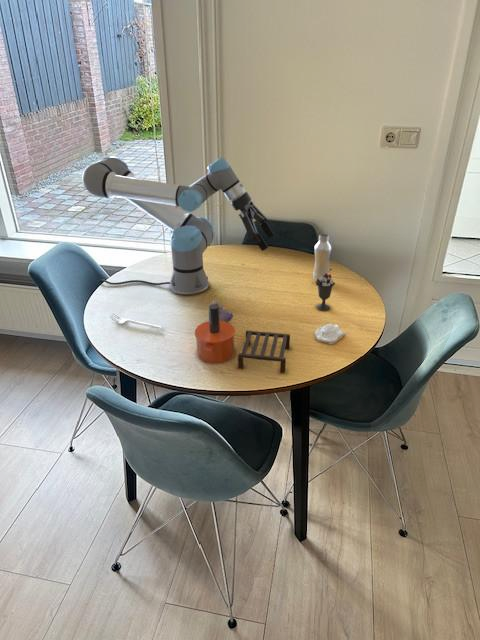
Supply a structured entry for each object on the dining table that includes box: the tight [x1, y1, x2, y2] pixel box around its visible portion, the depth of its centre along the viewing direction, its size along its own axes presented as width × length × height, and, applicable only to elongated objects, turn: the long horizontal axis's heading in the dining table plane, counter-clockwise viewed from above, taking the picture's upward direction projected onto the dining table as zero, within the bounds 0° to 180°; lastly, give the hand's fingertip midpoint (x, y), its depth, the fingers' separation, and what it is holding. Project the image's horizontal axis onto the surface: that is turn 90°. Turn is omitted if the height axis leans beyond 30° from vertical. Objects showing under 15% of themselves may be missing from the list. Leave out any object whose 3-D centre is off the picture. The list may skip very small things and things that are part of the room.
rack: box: [237, 329, 291, 374], centre depth 146 cm, size 14×14×5 cm
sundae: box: [315, 268, 336, 312], centre depth 171 cm, size 7×7×15 cm
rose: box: [314, 323, 346, 345], centre depth 156 cm, size 10×4×10 cm
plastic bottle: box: [311, 233, 332, 284], centre depth 188 cm, size 6×7×20 cm
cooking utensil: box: [109, 313, 163, 330], centre depth 165 cm, size 3×20×2 cm, turn 70°
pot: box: [195, 321, 235, 364], centre depth 148 cm, size 11×17×8 cm
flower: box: [212, 299, 234, 323], centre depth 163 cm, size 9×9×10 cm
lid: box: [194, 303, 236, 343], centre depth 144 cm, size 12×12×10 cm
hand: (268, 242), depth 188 cm, fingers open, 13 cm apart
